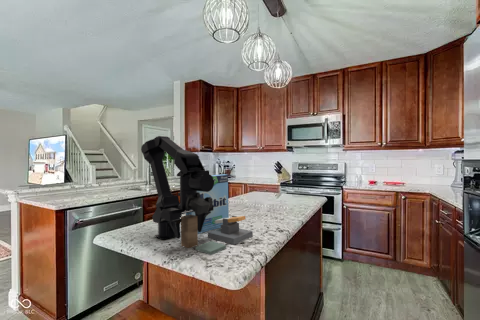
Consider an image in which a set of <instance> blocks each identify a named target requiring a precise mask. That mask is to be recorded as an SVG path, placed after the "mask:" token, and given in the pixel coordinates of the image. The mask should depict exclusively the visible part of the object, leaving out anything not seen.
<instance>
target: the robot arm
mask: <svg viewBox="0 0 480 320" xmlns="http://www.w3.org/2000/svg"><path fill="white" fill-rule="evenodd" d="M140 151H141V153H142V155H143V158H144V160H145V161H146V162H147V163H148V164H149V166H150V167H151V168H150V169H151V173H152V177H153V180H154V185H155V190H156V192H157V197H158V198H157V201H156V203H155V208H156V209H155V211H154V212H153V215H152V221H153V223H156V224H157V229H158V230H157V232H158V233H157V234H155V235H154V237H155V236H156V237H155V238H157V237H159V238H158V239H160V238H161V239H160V240H163V239H166V240H168V238H169V239H171V238H175V237H176V239H178V240H179V239H180V240H181V221H182V219H181V217H182V215H186V213H190V212H195V216H197V223H198V232H201V230H202V227H203V223H204V220H205V218H206V216H207V215H208V214H210V213H211V212H210V211H213V201H212V198H211V197H206V198H200V193H199V192H197V191H204V192H209V191H211V190H212V188H213V186H214V180H213V177H212V176H211V175H212V174H210V170H208V169H207V170H206V169H205V167H204V165H203V163H202V161H201V159H200V156H199V154H197V153H195V152H192V151H189V150H186V149H184V148H182V147H181V146H179V144H177V143H175V142H174V140H171V137H169V136H164V135H163V136H162V135H158V136H155V137H154V138H152V139H149V140H147V141H145V142H144V143H143V144H142V145H141V148H140ZM165 153H166V154H167V155H168V156H170V157H171V158H172V159H173V164H174V165H175V166H176V168H177V169H178V170H179V171H178V172H177V174H176V176H177V177H179V192H177V195H174V194H173V193H172V191H171V187H170V183H169V180H168V176H167V173H166V169H165V166H164V162H163V160H164V157H165V155H166V154H165ZM179 198H180V199H179ZM186 210H187V211H186Z"/></svg>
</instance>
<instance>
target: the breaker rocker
mask: <svg viewBox="0 0 480 320" xmlns="http://www.w3.org/2000/svg"><path fill="white" fill-rule="evenodd" d="M225 219H228V222H237V223H239V222H242V221H244V220H246V215H242V216H241V215H239V216H237V217H232V216H231V217H230V216H229V218H225ZM216 223H223V218H222V219H218V220H215V224H216Z"/></svg>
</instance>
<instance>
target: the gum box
mask: <svg viewBox="0 0 480 320" xmlns="http://www.w3.org/2000/svg"><path fill="white" fill-rule="evenodd" d="M210 175H211V176H212V177H213V180H214V186H213V188H212V190H211V191H209V192H204V191H197V192H199V193H200V198H206V197H211V198H212V201H213V211H210V212H211V213H210V214H208V215H207V216H206V218H205V220H204V223H203V227H202V230H201V232H198V234H202V233H206V232H210V231H213V230H216V229H219V228H221V224H223V223H216V224H215V220H218V219H222V218H230V215H229V213H230V212H229V175H228V174H224V173H223V174H222V173H221V174H220V173H219V174H210ZM186 211H187V210H186ZM186 215H195V212H190V213H186V214H185V216H186Z"/></svg>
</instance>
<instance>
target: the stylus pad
mask: <svg viewBox="0 0 480 320" xmlns="http://www.w3.org/2000/svg"><path fill="white" fill-rule="evenodd" d="M225 249H227V244H223V243H220V242H218V241H214V240H209V241H207V242H205V243H202V244H200V245H199V244H198V245H197V246H195V251H198V252H200V253H203V254H208V255H210V256H212V255H214V254H216V253H218V252H220V251H223V250H225Z"/></svg>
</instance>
